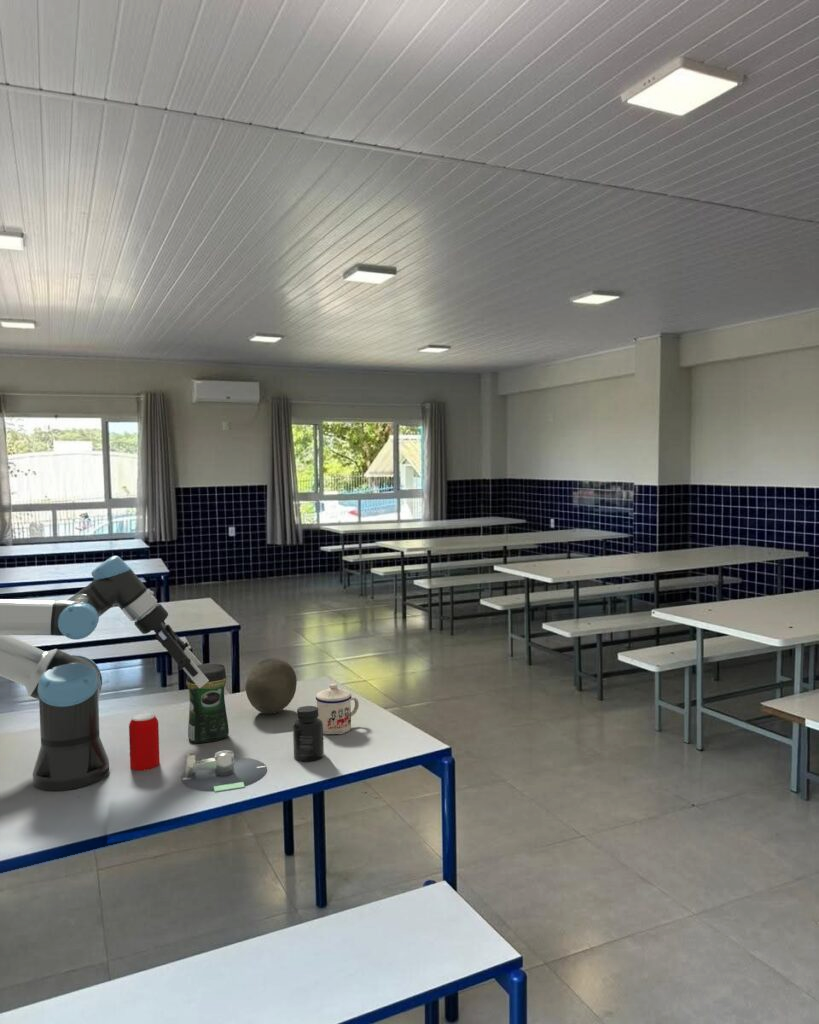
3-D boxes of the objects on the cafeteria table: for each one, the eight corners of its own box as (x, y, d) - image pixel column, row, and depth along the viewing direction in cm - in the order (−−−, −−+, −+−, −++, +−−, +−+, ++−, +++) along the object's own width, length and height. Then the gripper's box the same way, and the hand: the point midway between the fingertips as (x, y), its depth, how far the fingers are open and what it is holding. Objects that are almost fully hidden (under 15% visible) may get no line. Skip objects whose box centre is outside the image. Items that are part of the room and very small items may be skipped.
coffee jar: (222, 729, 189) (220, 657, 188) (232, 738, 182) (230, 664, 181) (184, 736, 184) (182, 663, 183) (192, 746, 177) (190, 670, 176)
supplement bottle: (330, 758, 169) (329, 707, 168) (310, 768, 163) (308, 715, 162) (307, 752, 173) (306, 702, 172) (287, 762, 167) (286, 710, 166)
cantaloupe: (236, 712, 202) (235, 658, 201) (283, 702, 211) (281, 650, 210) (259, 726, 191) (258, 669, 190) (307, 715, 199) (306, 660, 199)
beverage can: (125, 774, 161) (123, 720, 161) (139, 763, 167) (137, 711, 167) (151, 775, 160) (149, 721, 160) (164, 764, 167) (163, 712, 166)
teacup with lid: (328, 738, 182) (327, 692, 181) (309, 728, 189) (308, 683, 188) (368, 727, 189) (367, 682, 188) (348, 718, 196) (348, 675, 196)
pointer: (232, 767, 161) (232, 745, 161) (235, 773, 158) (234, 752, 157) (185, 774, 158) (184, 752, 158) (186, 781, 154) (186, 759, 154)
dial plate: (184, 802, 147) (183, 796, 147) (178, 768, 164) (178, 763, 164) (274, 787, 154) (273, 781, 154) (260, 756, 170) (259, 751, 170)
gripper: (160, 611, 166) (219, 679, 172) (157, 594, 190) (209, 655, 195) (132, 632, 164) (193, 701, 170) (132, 613, 188) (185, 674, 193)
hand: (201, 677), depth 182 cm, fingers open, 13 cm apart
